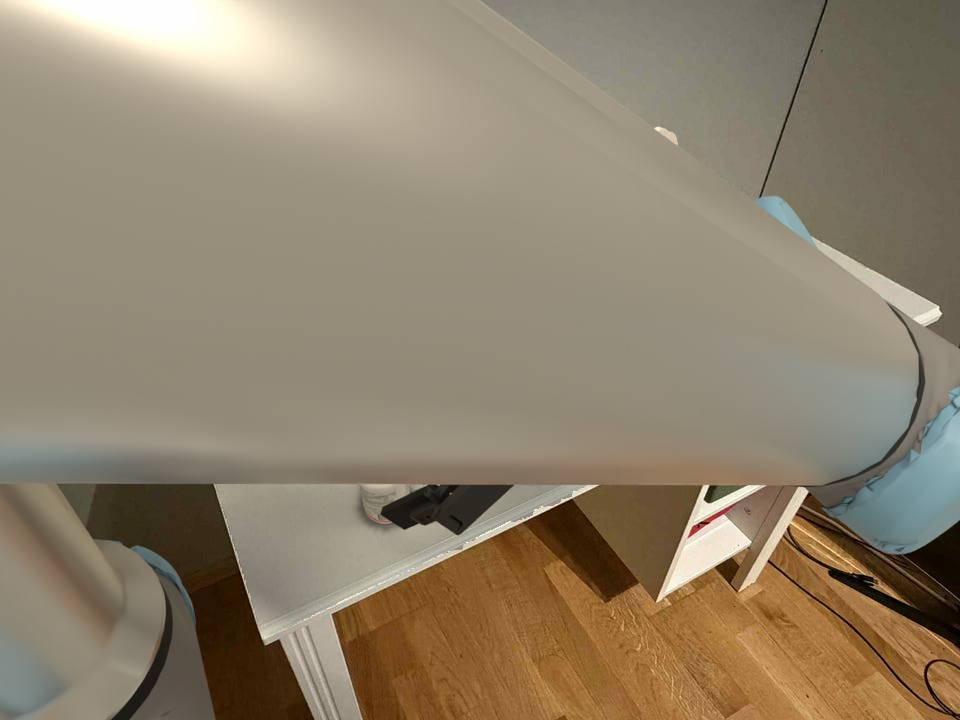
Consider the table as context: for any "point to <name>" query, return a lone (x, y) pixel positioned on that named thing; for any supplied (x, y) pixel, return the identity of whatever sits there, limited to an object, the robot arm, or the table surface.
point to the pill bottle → (381, 498)
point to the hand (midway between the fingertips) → (412, 455)
